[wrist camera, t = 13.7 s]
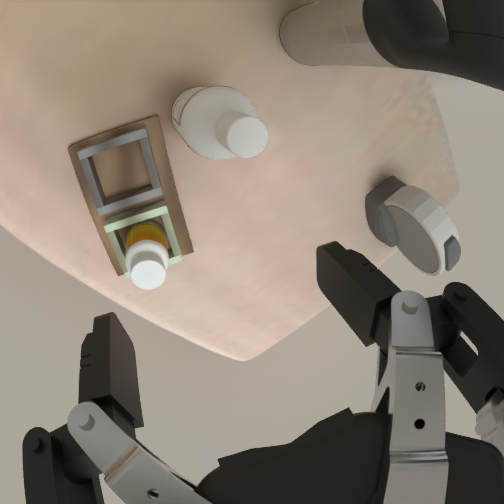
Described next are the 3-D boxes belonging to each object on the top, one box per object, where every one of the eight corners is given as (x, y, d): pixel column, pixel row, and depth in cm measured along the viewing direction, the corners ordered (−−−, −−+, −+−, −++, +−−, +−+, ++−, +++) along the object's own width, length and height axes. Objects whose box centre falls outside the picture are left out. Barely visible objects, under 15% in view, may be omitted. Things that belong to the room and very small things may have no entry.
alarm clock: (410, 223, 58) (471, 267, 44) (377, 250, 59) (436, 303, 44) (395, 162, 49) (473, 203, 34) (356, 192, 49) (432, 244, 34)
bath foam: (231, 127, 37) (305, 166, 21) (182, 147, 36) (215, 203, 20) (215, 79, 33) (282, 74, 17) (163, 98, 32) (179, 107, 16)
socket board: (158, 115, 33) (159, 117, 30) (192, 248, 44) (196, 261, 41) (69, 145, 30) (62, 151, 27) (118, 271, 42) (117, 286, 39)
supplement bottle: (124, 219, 37) (120, 257, 29) (163, 214, 38) (169, 251, 31) (129, 253, 40) (128, 297, 32) (166, 249, 41) (173, 291, 34)
